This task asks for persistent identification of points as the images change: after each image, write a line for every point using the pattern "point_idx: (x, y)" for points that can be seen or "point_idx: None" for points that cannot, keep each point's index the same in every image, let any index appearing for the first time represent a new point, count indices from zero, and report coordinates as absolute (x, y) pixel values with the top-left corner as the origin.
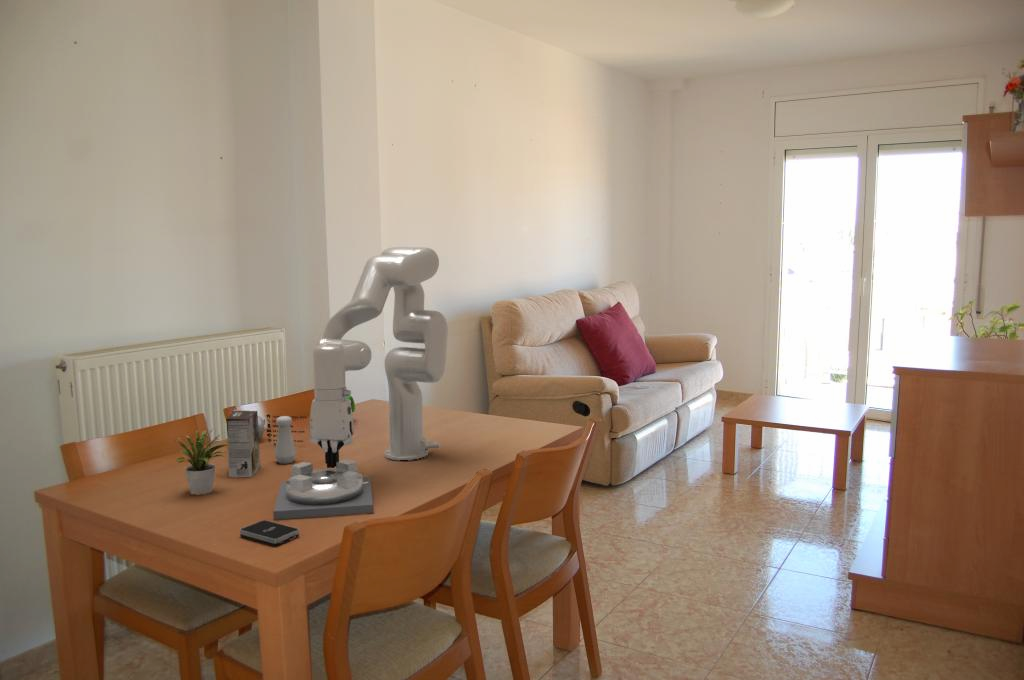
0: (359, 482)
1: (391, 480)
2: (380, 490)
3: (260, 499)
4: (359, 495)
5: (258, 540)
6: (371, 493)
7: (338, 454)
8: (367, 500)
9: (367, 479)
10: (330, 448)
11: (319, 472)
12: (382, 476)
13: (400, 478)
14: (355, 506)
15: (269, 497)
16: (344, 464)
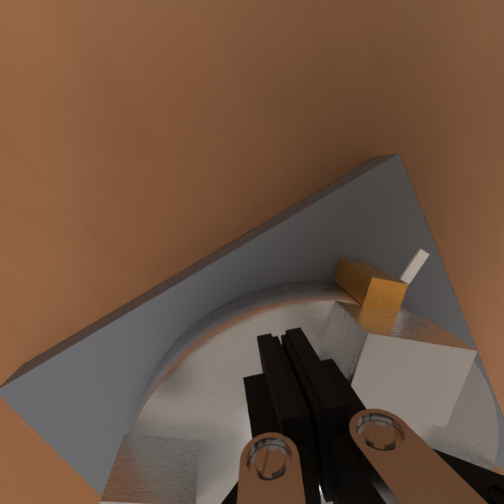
0: (496, 450)
1: (453, 67)
2: (448, 225)
3: (36, 485)
4: None
5: None
6: (483, 370)
7: (359, 404)
8: None
9: (403, 207)
10: (316, 500)
11: None
12: (387, 8)
13: (487, 17)
14: None
15: (52, 456)
16: (412, 419)
